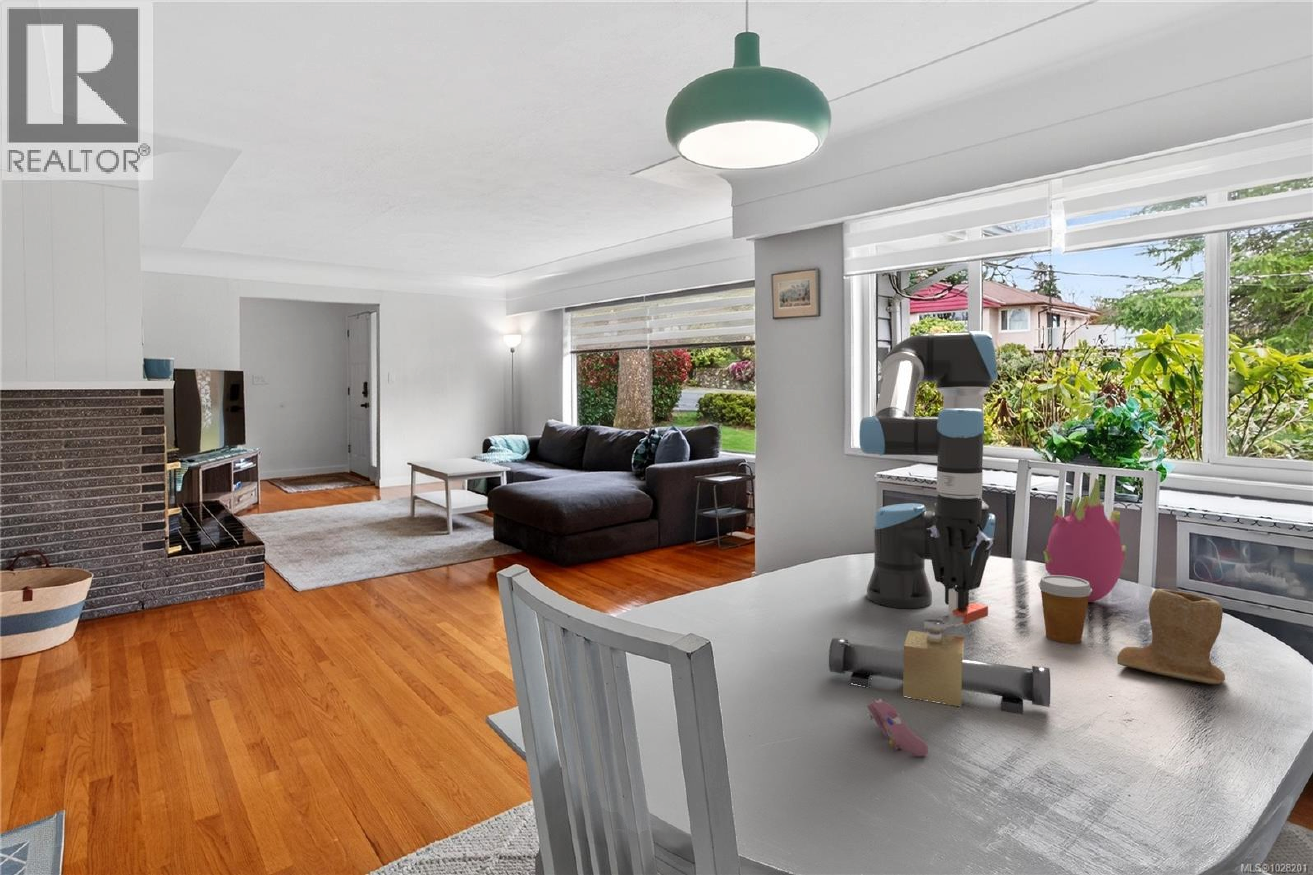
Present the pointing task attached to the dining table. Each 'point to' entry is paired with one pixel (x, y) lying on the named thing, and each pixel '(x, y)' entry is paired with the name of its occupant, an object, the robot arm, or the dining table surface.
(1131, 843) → the dining table surface
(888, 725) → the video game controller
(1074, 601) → the disposable coffee cup
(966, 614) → the lever
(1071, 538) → the pink dragon fruit
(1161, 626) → the tan flared piece
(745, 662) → the dining table surface
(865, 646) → the valve pipe
